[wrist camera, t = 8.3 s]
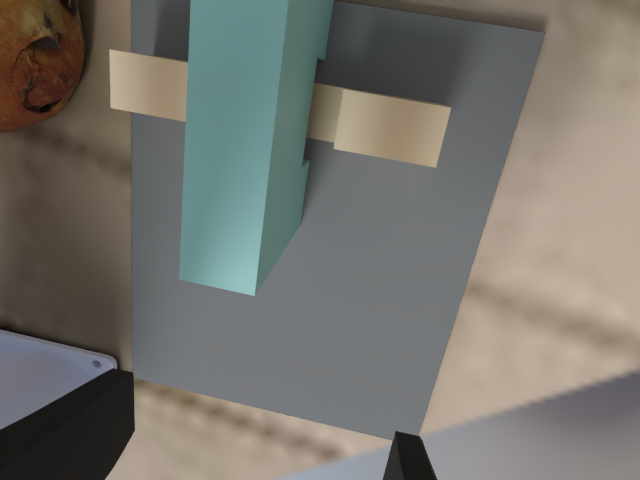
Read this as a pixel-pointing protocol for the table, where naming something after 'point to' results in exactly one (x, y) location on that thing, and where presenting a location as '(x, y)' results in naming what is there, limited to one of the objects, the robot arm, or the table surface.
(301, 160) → the teal board
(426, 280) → the mat
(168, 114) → the birch u-shaped block
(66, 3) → the bread roll
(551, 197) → the table surface
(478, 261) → the table surface
